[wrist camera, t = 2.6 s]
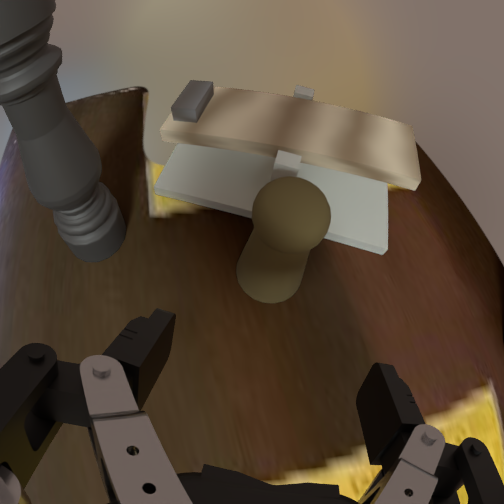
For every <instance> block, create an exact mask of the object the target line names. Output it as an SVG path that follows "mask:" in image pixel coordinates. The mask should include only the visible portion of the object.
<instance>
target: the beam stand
mask: <svg viewBox="0 0 504 504" xmlns="http://www.w3.org/2000/svg"><path fill="white" fill-rule="evenodd" d="M313 95H314V89H310V88H306V87H303V86H299V85H296V88H295V92H294V96H293V97H296V98H302V99H307V100H312V99H313ZM301 157H302V156H299V155H296V154H292V153H289V152H285V151H281V150H278V153H277V156H276V158H274V157H269V156H263V155H257V154H251V153H245V152H239V151H233V150H226V149H220V148H213V147H205V146H198V145H190V144H182V143H177V145H176V147H175V149H174V151H173V152H172V154H171V156H170V158H169V160H168V161H167V163H166V165H165V167H164V169H163V171H162V172H161V174H160V176H159V178H158V180H157V182H156V184H155V186H154V190H155V194H156V195H161V196H165V197H169V198H173V199H177V200H181V201H185V202H189V203H193V204H197V205H201V206H205V207H209V208H213V209H217V210H221V211H225V212H229V213H233V214H237V215H241V216H244V217H248V218H252V207H253V202H254V200H255V198H256V196H257V194H258V192H259V191H260V189H262V188H263V187H264V186H265V185H266V184H267V183H269V182H271V181H273V180H275V179H278V178H280V177H288V176H292V177H299V178H302V179H305V180H308V181H310V182H311V183H313V184H314V185H316V186H317V187H318V188H319V189H320V190H321V191H322V192H323V193H324V194H325V197H326V199H327V201H328V203H329V205H330V209H331V222H330V226H329V229H328V232H327V234H326V235H325V237H324V238H326V239H329V240H333V241H336V242H340V243H343V244H347V245H350V246H354V247H357V248H360V249H364V250H367V251H371V252H374V253H378V254H381V255H383V254H384V253H385V252H386V251H387V250H388V191H387V183H385V182H382V181H378V180H374V179H370V178H366V177H362V176H358V175H354V174H350V173H346V172H341V171H337V170H333V169H328V168H324V167H319V166H314V165H310V164H305V163H300V162H301Z"/></svg>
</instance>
